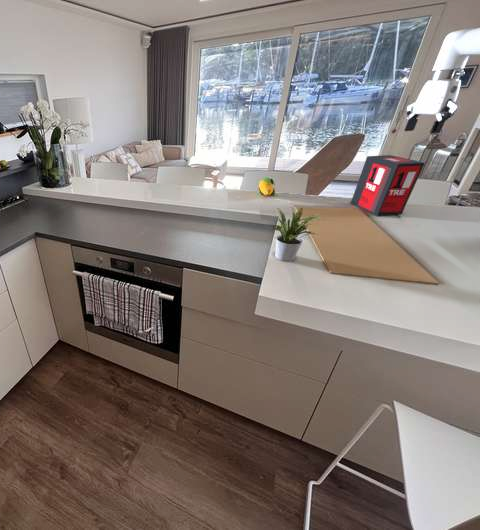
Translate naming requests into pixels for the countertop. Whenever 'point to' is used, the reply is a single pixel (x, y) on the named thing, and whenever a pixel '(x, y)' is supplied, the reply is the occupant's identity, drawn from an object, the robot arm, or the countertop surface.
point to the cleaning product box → (386, 184)
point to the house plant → (291, 235)
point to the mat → (360, 246)
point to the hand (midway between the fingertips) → (421, 132)
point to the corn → (267, 187)
